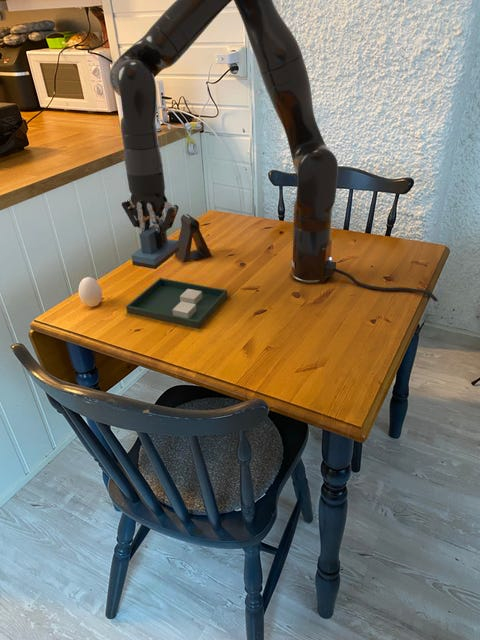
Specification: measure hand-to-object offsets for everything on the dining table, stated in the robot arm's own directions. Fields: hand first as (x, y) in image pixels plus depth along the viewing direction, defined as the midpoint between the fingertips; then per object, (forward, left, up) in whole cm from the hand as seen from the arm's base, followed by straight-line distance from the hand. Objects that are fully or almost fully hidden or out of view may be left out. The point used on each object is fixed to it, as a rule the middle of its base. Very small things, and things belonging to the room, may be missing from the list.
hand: (155, 245), depth 106 cm
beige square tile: (-6, -3, -15) cm, 16 cm away
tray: (-4, 0, -15) cm, 16 cm away
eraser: (0, 0, -3) cm, 3 cm away
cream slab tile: (-8, +3, -15) cm, 17 cm away
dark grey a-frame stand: (+6, -26, -15) cm, 31 cm away
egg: (+16, +7, -15) cm, 23 cm away
